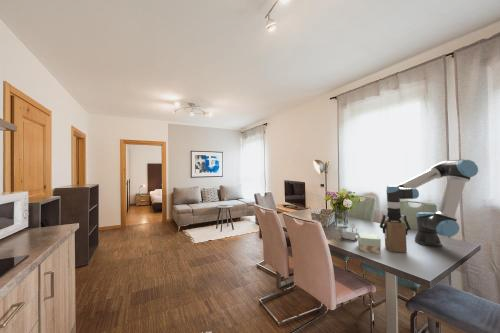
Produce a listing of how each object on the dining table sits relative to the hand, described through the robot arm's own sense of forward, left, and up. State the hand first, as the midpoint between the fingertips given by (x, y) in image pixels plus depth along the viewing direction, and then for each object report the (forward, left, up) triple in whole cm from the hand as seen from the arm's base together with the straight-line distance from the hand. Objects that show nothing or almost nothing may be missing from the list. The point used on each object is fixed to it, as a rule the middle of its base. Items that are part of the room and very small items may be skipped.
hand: (395, 238), depth 144 cm
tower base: (+17, +4, -8) cm, 19 cm away
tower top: (+17, +4, -3) cm, 18 cm away
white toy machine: (+25, -21, -9) cm, 34 cm away
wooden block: (0, 0, -8) cm, 8 cm away
